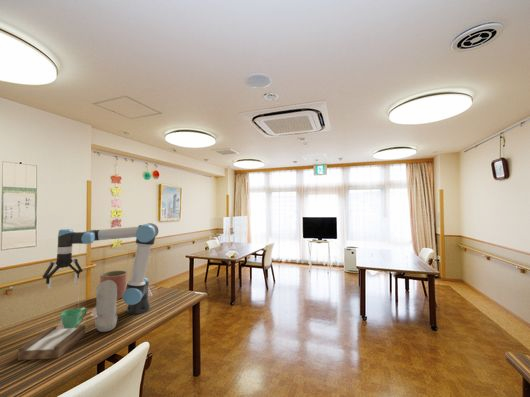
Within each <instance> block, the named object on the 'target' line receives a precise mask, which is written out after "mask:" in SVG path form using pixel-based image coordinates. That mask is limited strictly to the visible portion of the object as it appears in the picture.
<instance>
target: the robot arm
mask: <svg viewBox="0 0 530 397" xmlns="http://www.w3.org/2000/svg"><path fill="white" fill-rule="evenodd" d="M158 234H159V228H158V226H157V225H156V224H154V223H151V222H150V223H145V224H138V226H131V227H130V226H128V227H119V228H118V227H117V228H105V229H90V230H87V231H83V232H81V231H80V232H78V231H77V232H76V231H74V229H73V228H61V229H59V230H58V234H57V250H56V253H57V254H56V261H50V262H49V266H48V267H47V269H46V270H45V271H44V272H43V273H44V274H43V275H41V276H42V277H41V278H43V279H45V284H46V285H47V290H51V289H52V277H53V275H54V274H55V273H56V272H57V271H58V270H59V269H64V268H68V267H69V268H70V269H71V270H72V271H73V272H74V276H73V277H74V279H73V283H74V284H75V285H76V284H78V279H79V278H80V273H82V272H83V269H82V267H81V266H80V263H79V261H78V259H77V258H72V257H73V253H72V252H73V245H75V244H77V245H81V244H84V245H87V244H90V245H91V244H93V243H94V242H95V241H96V242H97V241H106V240H117V239H118V240H119V239H129V238H136V239H135V244H136V250H135V256H134V261H133V265H132V270H131V274H130V279H129V280H127V281H126V290H125V292H124V293H123V297H122V301H123V302H124V303H125V304H126V305H127V308H126V313H127V314H129V315H139V314H144V313H146V312H148V311H149V310H150V309H151V308H150V307H151V304H150V301H149V298H148V296H149V284H150V283H149V281H150V280H149V277H145V276H146V272H147V268H148V264H149V257H150V252H151V248H152V246H154V244H155V239H156V238H157V236H158ZM72 263H74V265H75V267H76V268H75V267H74V266H73V265H72ZM55 265H56V266H55ZM54 266H55V267H54ZM53 267H54V268H53Z"/></svg>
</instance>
